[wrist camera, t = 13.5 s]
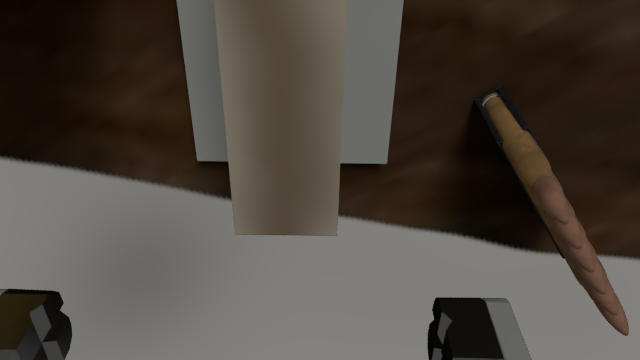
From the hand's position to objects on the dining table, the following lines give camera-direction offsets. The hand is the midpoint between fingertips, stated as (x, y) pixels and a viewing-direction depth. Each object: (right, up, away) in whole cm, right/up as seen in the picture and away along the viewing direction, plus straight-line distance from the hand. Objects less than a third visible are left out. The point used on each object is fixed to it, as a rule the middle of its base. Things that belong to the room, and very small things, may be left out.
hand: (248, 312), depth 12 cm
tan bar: (0, +9, +13) cm, 16 cm away
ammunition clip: (+15, +5, +24) cm, 28 cm away
